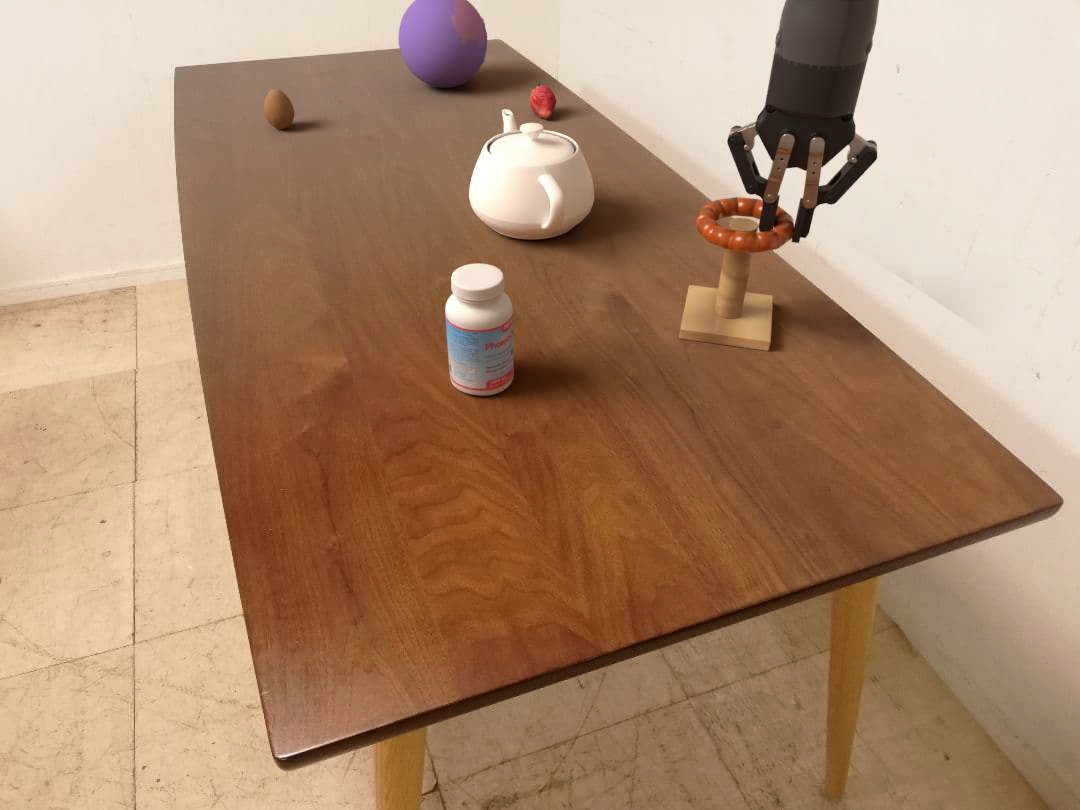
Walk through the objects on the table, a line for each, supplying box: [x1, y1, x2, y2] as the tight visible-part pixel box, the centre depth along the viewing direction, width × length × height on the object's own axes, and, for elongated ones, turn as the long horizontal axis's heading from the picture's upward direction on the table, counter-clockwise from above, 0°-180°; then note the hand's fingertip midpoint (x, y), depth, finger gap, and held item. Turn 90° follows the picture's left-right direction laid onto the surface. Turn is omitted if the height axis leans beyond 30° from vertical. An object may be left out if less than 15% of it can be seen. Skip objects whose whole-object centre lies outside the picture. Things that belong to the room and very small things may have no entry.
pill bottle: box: [444, 263, 515, 397], centre depth 75 cm, size 6×6×11 cm
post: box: [678, 217, 774, 352], centre depth 83 cm, size 9×9×11 cm
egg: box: [263, 88, 295, 130], centre depth 126 cm, size 4×4×6 cm
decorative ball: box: [398, 0, 488, 89], centre depth 139 cm, size 15×15×15 cm
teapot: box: [468, 108, 595, 240], centre depth 101 cm, size 25×16×12 cm, turn 16°
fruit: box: [529, 80, 557, 121], centre depth 131 cm, size 4×6×5 cm
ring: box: [695, 196, 795, 254], centre depth 79 cm, size 9×9×2 cm
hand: (781, 236), depth 79 cm, fingers closed on ring, 2 cm apart
